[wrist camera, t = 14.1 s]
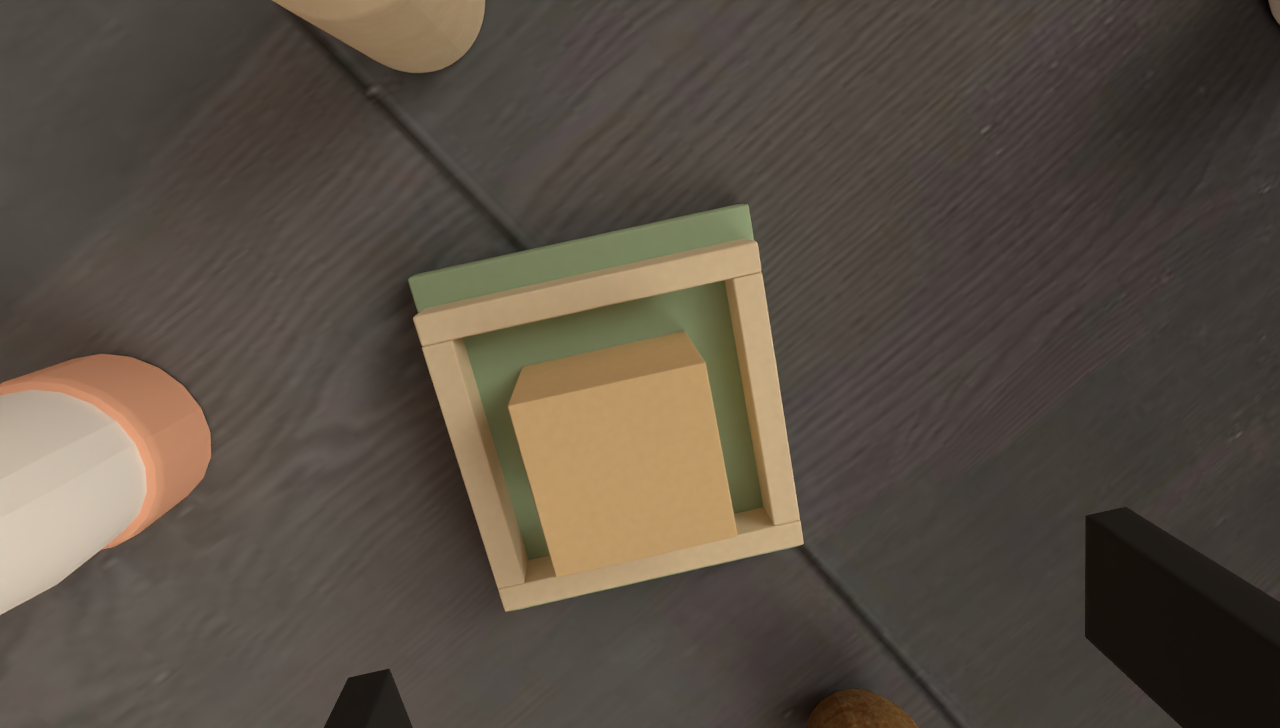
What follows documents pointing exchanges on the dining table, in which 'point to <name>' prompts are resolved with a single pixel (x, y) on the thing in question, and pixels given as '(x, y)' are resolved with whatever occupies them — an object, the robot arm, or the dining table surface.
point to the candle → (398, 28)
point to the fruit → (858, 712)
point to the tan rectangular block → (623, 453)
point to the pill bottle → (1275, 9)
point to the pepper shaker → (89, 464)
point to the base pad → (597, 319)
